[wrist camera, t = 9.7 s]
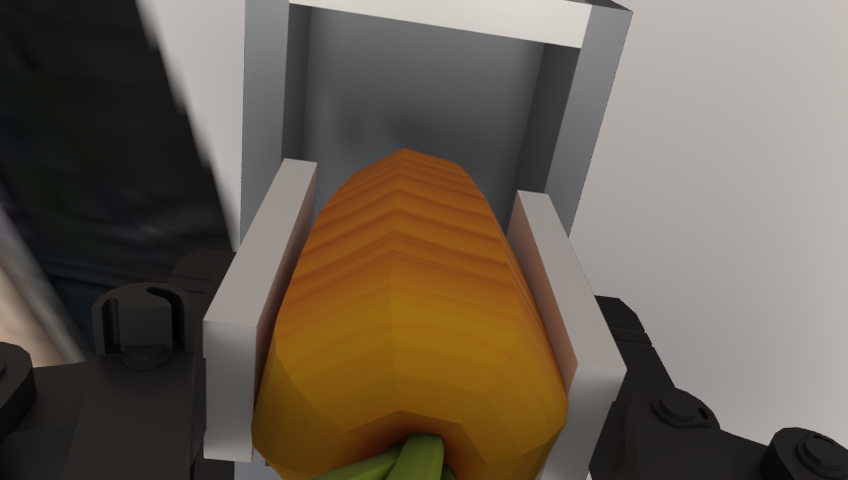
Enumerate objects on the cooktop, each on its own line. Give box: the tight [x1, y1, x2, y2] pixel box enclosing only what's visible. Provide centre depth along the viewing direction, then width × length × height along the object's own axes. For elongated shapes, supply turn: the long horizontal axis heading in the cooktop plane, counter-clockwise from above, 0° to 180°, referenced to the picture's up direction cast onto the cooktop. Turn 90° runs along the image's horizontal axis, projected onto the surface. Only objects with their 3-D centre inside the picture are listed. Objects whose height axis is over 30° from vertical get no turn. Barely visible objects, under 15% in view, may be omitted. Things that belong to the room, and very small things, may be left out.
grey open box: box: [235, 0, 633, 480], centre depth 21 cm, size 17×9×5 cm, turn 171°
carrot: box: [251, 148, 569, 480], centre depth 12 cm, size 5×5×15 cm
